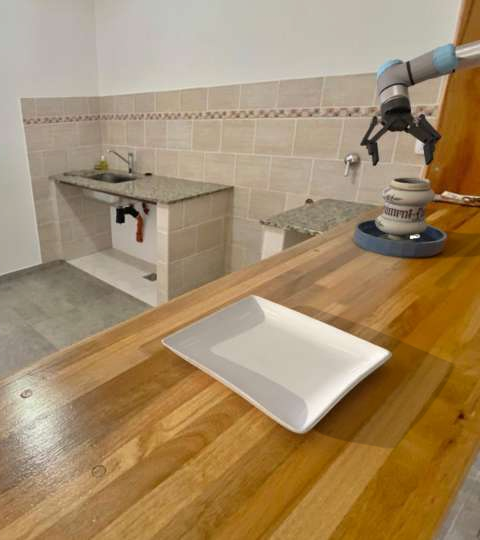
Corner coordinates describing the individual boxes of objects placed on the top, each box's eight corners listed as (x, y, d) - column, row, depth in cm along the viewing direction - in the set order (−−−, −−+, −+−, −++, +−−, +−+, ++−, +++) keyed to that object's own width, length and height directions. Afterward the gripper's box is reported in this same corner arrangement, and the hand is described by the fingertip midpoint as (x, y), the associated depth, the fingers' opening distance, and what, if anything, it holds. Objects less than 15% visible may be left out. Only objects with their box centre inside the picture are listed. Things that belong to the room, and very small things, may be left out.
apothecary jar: (365, 243, 111) (378, 181, 104) (379, 232, 118) (392, 174, 111) (414, 253, 103) (433, 186, 95) (426, 241, 110) (444, 178, 102)
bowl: (439, 238, 113) (444, 224, 111) (444, 264, 97) (449, 248, 95) (356, 229, 124) (359, 216, 123) (348, 251, 109) (351, 236, 107)
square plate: (299, 455, 49) (303, 433, 48) (158, 356, 70) (158, 338, 68) (390, 368, 63) (396, 348, 62) (251, 306, 84) (252, 291, 82)
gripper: (435, 111, 118) (445, 169, 111) (346, 116, 125) (350, 171, 118) (449, 93, 112) (461, 153, 104) (353, 98, 118) (358, 155, 111)
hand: (402, 162), depth 111 cm, fingers open, 13 cm apart
